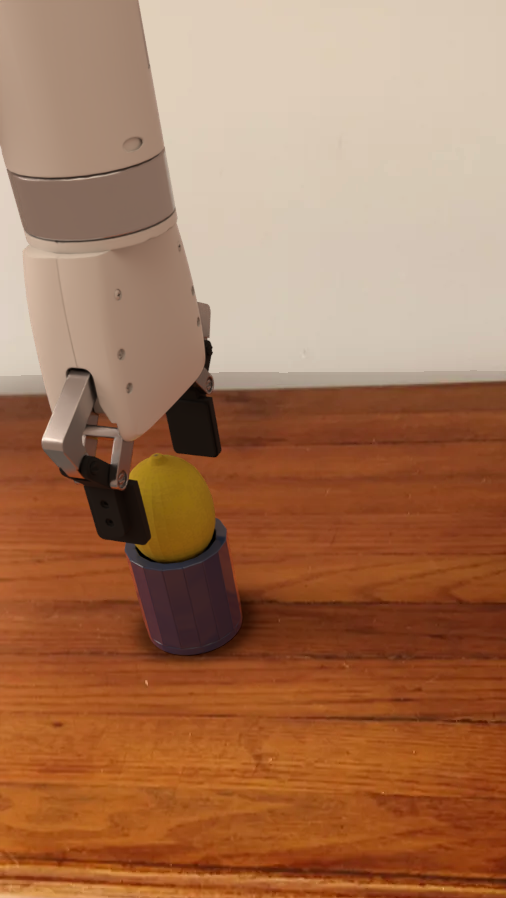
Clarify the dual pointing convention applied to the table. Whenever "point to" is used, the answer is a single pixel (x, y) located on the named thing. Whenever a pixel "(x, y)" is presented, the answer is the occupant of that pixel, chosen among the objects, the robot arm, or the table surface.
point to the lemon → (174, 508)
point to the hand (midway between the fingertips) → (164, 493)
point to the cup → (189, 597)
